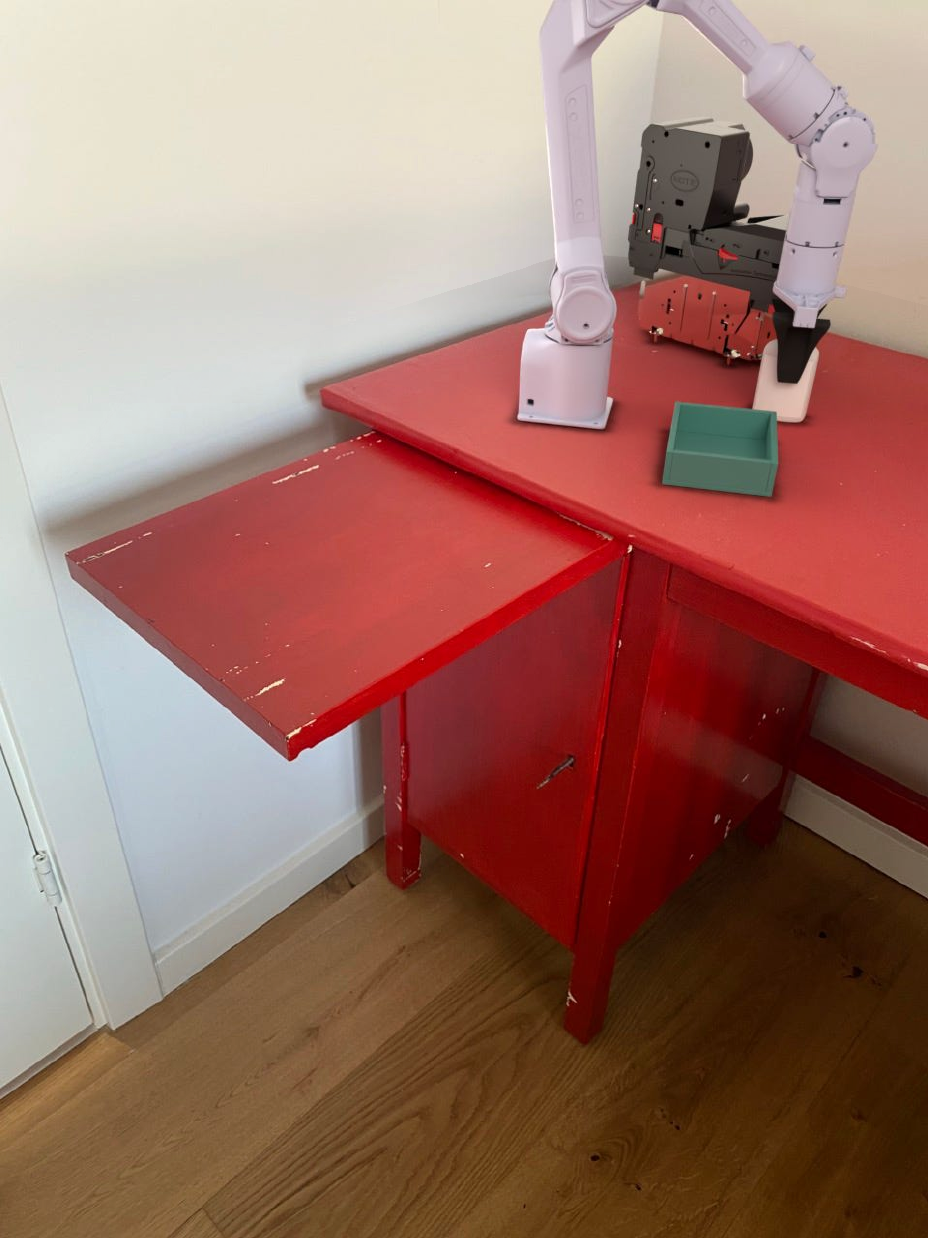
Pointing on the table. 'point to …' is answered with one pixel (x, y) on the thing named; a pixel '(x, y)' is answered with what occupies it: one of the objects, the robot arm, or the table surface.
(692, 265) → the bill acceptor
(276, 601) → the table surface
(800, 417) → the eye dropper bottle
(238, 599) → the table surface
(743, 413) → the desk tidy
